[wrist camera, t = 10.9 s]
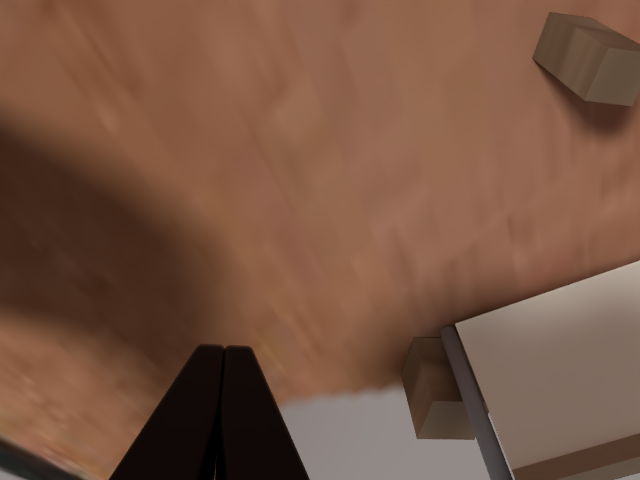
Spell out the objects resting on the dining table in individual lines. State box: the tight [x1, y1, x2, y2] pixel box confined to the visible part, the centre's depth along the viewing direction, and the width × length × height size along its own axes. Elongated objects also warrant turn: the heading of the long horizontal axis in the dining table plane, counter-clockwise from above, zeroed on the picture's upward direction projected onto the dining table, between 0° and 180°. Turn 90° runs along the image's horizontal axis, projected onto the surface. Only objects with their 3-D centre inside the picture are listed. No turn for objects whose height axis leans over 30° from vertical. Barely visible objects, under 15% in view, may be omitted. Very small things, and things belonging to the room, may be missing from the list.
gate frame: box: [401, 12, 640, 440], centre depth 23 cm, size 3×19×4 cm, turn 172°
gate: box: [440, 261, 640, 480], centre depth 23 cm, size 1×14×9 cm, turn 113°
